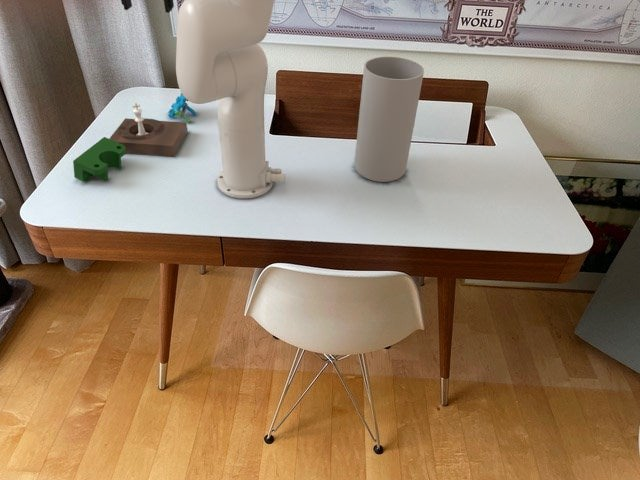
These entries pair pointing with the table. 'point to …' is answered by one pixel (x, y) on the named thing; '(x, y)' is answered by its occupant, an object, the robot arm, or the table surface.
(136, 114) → the chess piece
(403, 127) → the cylinder vase
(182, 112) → the blue slotted cogwheel
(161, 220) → the table surface
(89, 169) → the clamp
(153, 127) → the pad
